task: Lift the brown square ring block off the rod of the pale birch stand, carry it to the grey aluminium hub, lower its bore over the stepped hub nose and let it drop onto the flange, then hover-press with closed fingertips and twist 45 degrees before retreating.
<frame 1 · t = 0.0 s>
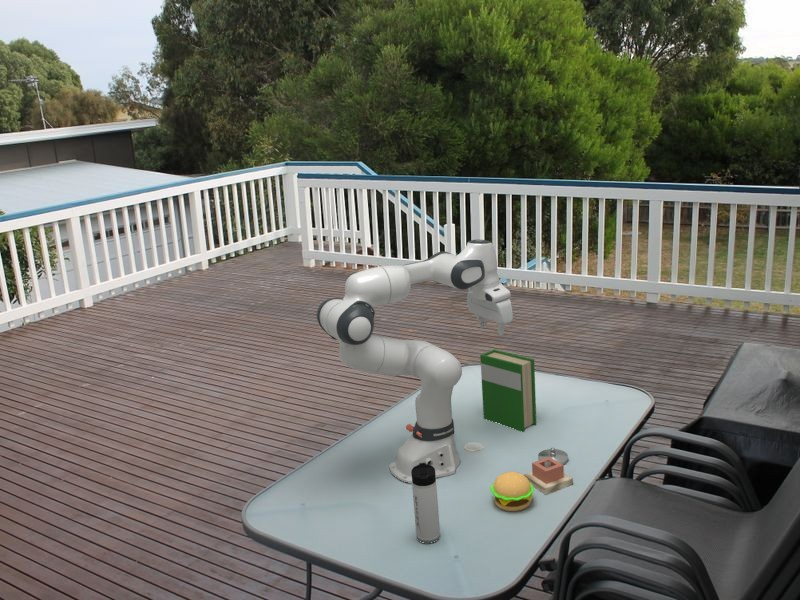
hand: (492, 331, 234), 39 cm above the table, tool pointing down, fingers open, 8 cm apart
stand: (548, 482, 217), on the table
hub: (553, 459, 230), on the table
travel mug: (428, 537, 195), on the table
hamburger: (512, 503, 208), on the table
brown square ring block: (548, 476, 216), point 2 cm above the table, touching stand
hardback book: (509, 422, 259), on the table
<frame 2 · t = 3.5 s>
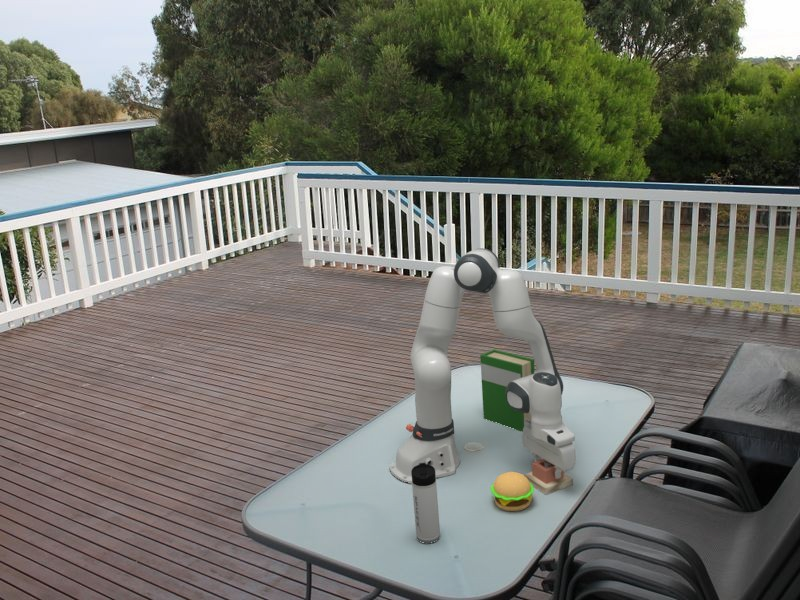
hand: (548, 472, 216), 3 cm above the table, tool pointing down, fingers closed on brown square ring block, 6 cm apart
brown square ring block: (547, 476, 216), point 2 cm above the table, touching gripper, stand
everything else where it was.
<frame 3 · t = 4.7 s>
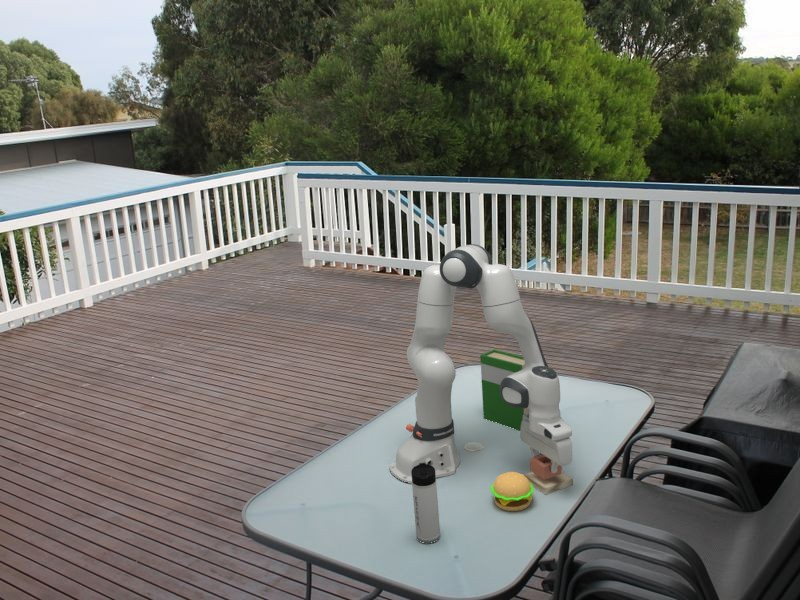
hand: (545, 466, 215), 6 cm above the table, tool pointing down, fingers closed on brown square ring block, 6 cm apart
brown square ring block: (545, 472, 215), point 4 cm above the table, touching gripper
everything else where it was.
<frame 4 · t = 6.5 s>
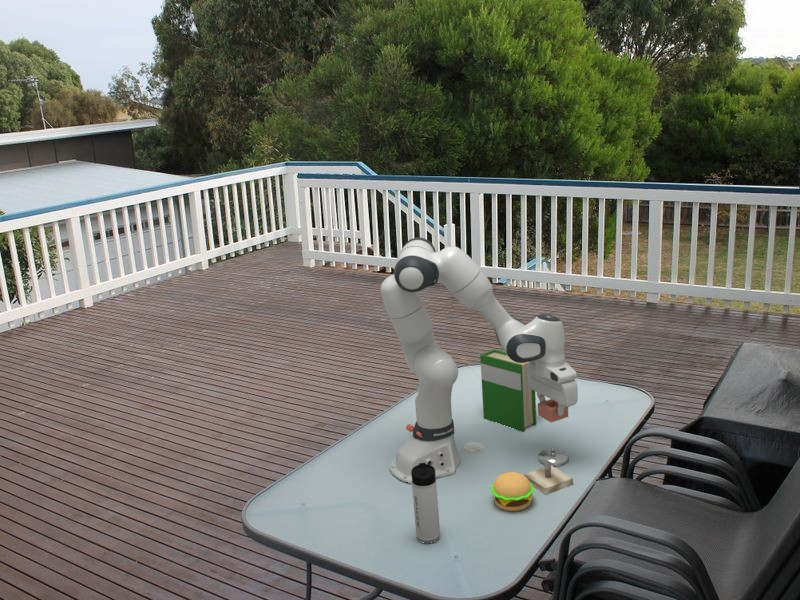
hand: (551, 410, 224), 17 cm above the table, tool pointing down, fingers closed on brown square ring block, 6 cm apart
brown square ring block: (553, 416, 225), point 15 cm above the table, touching gripper
everything else where it was.
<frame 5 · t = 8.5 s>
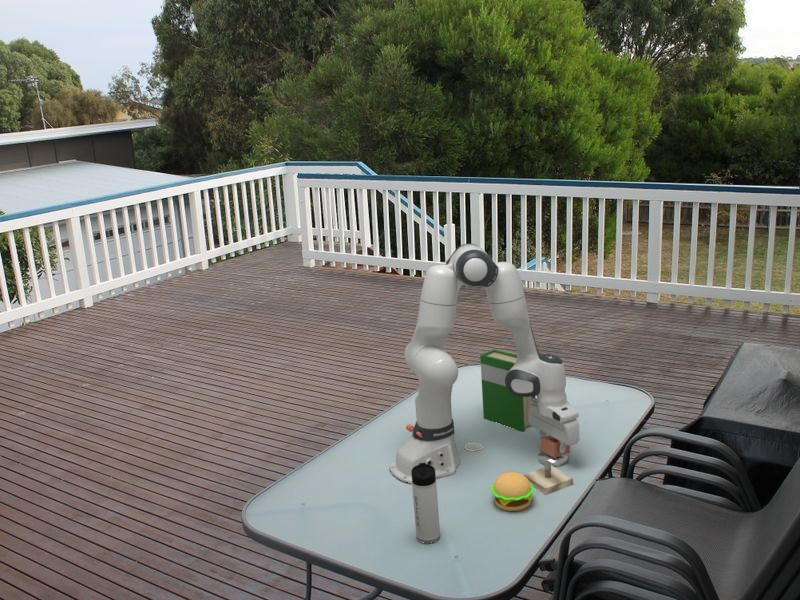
hand: (553, 447, 229), 4 cm above the table, tool pointing down, fingers closed on brown square ring block, 6 cm apart
brown square ring block: (554, 451, 230), point 3 cm above the table, touching gripper, hub
everything else where it was.
when the fingers open (4 cm above the table, at t = 9.1 s): brown square ring block stays where it is, resting on hub.
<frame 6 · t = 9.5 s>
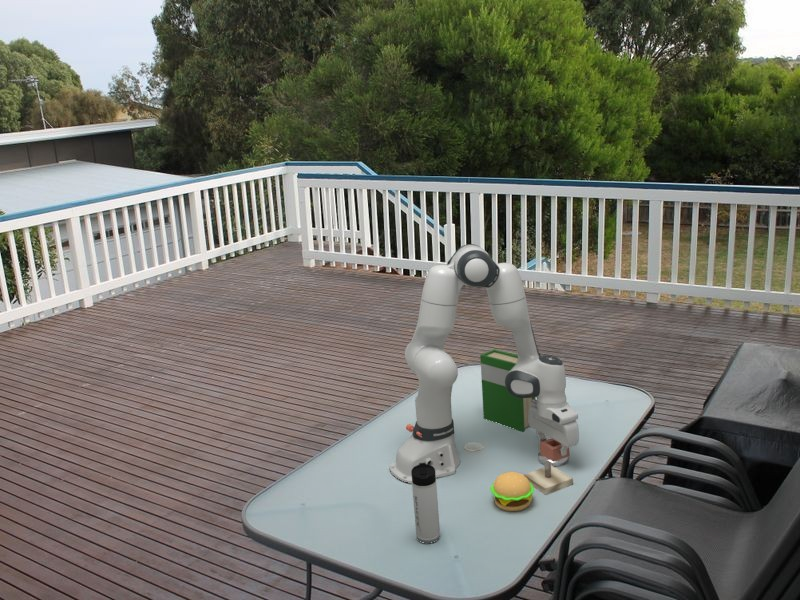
hand: (552, 449, 229), 4 cm above the table, tool pointing down, fingers open, 8 cm apart
brown square ring block: (554, 454, 230), point 1 cm above the table, touching hub
everything else where it was.
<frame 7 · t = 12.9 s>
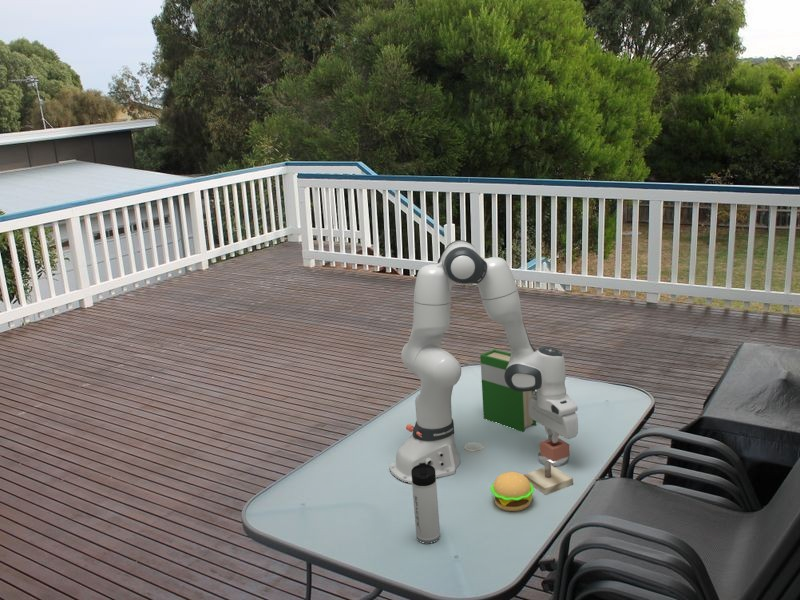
hand: (552, 441, 228), 6 cm above the table, tool pointing down, fingers closed
nothing on the table moved.
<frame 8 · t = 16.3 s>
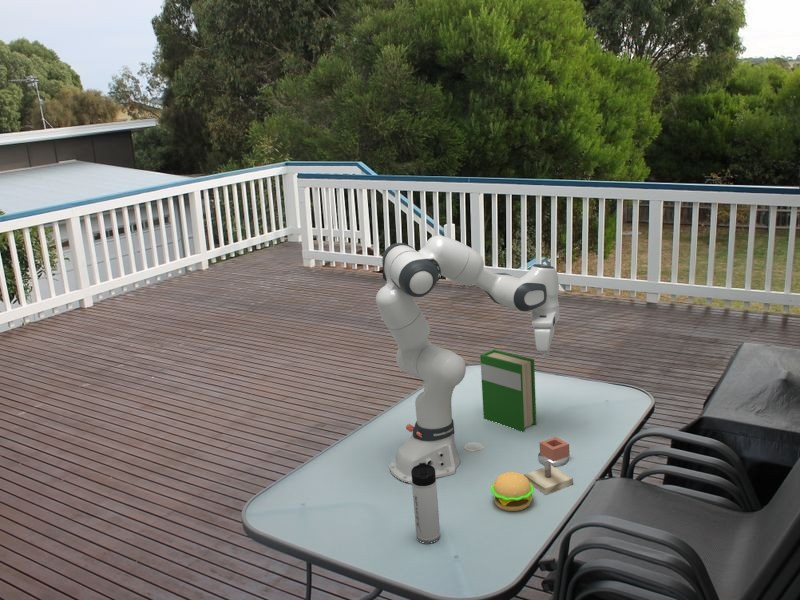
hand: (546, 356, 236), 29 cm above the table, tool pointing down, fingers closed
nothing on the table moved.
at the end: brown square ring block 0.7 cm off-centre on the hub, point 1.5 cm above the hub's base; brown square ring block tilted 0°; the gripper is holding nothing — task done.
